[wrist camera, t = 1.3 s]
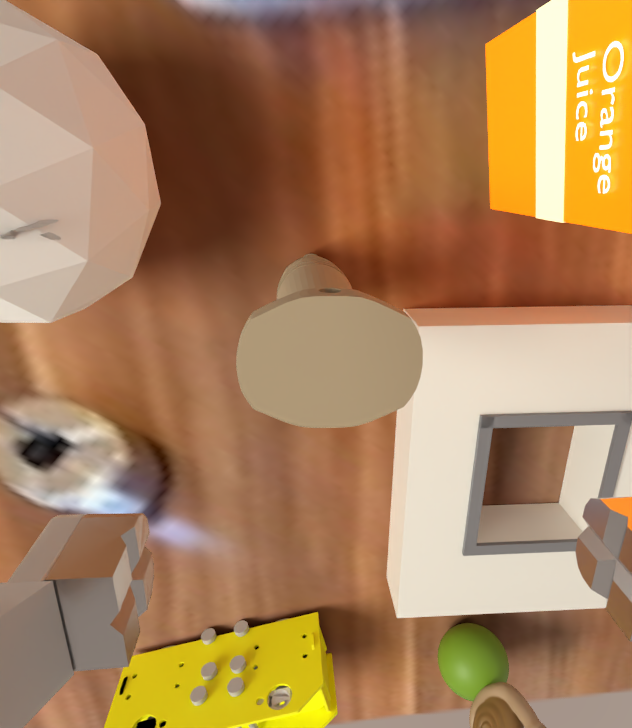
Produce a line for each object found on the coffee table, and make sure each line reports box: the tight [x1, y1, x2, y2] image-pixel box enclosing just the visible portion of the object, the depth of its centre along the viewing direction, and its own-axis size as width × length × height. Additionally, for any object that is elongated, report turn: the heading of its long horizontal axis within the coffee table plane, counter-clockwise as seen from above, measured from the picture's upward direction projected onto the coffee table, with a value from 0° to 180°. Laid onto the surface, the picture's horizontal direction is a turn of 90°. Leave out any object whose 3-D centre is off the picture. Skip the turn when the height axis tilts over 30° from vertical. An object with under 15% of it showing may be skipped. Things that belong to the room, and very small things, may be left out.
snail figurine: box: [438, 623, 546, 728], centre depth 37 cm, size 5×6×12 cm
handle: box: [236, 253, 423, 428], centre depth 24 cm, size 5×6×15 cm
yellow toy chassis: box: [104, 612, 338, 728], centre depth 38 cm, size 16×6×8 cm, turn 104°
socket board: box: [387, 305, 632, 618], centre depth 35 cm, size 22×18×4 cm
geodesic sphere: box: [0, 0, 161, 323], centre depth 22 cm, size 14×14×14 cm
